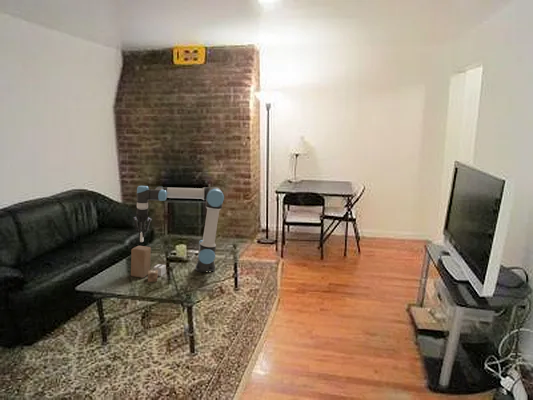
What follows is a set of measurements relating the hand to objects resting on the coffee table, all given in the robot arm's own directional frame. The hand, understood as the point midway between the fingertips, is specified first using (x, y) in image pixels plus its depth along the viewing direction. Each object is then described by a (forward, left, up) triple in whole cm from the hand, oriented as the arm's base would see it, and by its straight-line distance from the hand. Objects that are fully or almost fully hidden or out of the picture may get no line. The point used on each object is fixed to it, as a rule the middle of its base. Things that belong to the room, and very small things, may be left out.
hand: (141, 241), depth 259 cm
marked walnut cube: (-11, +7, -25) cm, 28 cm away
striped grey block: (-12, -5, -25) cm, 28 cm away
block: (0, 0, -25) cm, 25 cm away
